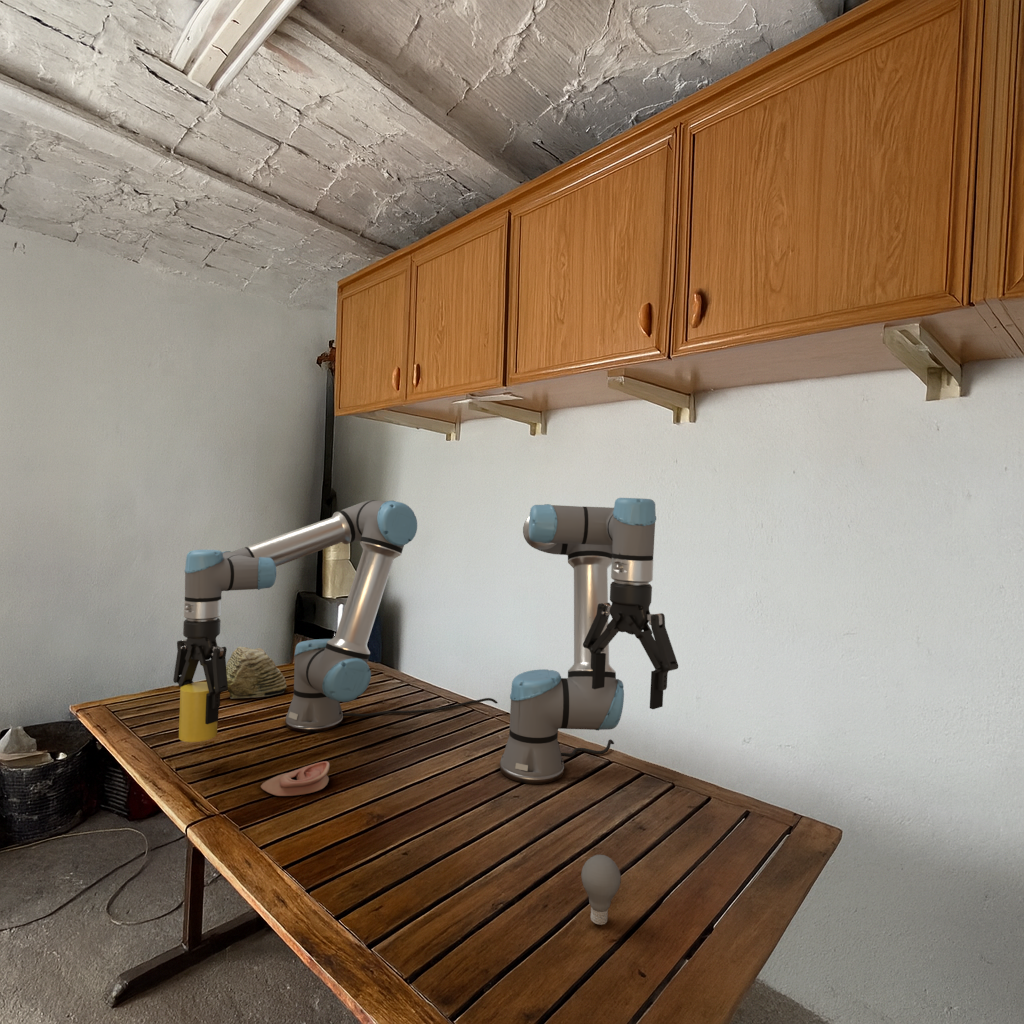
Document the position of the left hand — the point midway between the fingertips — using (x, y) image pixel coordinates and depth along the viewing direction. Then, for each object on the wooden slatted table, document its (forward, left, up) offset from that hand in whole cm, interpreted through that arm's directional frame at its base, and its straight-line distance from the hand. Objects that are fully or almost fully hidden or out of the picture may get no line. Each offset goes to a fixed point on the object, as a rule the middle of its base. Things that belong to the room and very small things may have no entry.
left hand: (199, 718), depth 144 cm
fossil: (-37, -41, -12) cm, 56 cm away
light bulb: (-17, +95, -12) cm, 98 cm away
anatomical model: (-11, +22, -12) cm, 28 cm away
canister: (0, 0, -4) cm, 4 cm away
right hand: (-36, +88, +17) cm, 97 cm away
